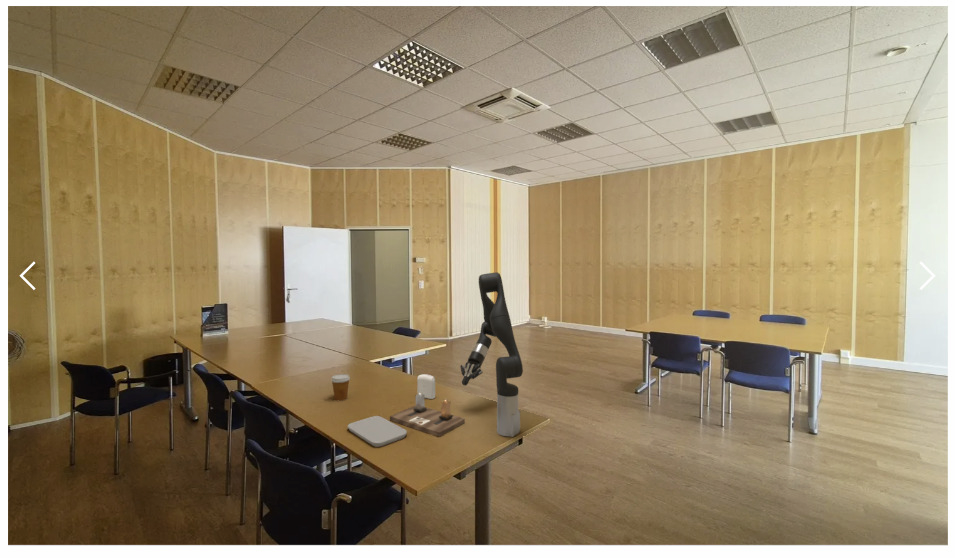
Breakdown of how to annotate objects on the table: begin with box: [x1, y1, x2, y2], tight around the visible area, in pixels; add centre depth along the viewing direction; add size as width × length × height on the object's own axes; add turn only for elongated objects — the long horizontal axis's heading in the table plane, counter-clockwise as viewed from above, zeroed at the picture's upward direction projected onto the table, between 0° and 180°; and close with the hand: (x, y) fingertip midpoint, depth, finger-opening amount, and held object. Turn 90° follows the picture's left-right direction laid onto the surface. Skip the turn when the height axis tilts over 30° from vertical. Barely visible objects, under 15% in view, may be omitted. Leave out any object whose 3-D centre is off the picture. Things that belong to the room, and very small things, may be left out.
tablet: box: [347, 415, 408, 448], centre depth 176 cm, size 16×26×2 cm, turn 45°
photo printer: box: [416, 373, 436, 400], centre depth 219 cm, size 10×4×12 cm, turn 64°
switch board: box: [389, 404, 466, 438], centre depth 187 cm, size 30×18×2 cm, turn 55°
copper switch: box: [439, 398, 453, 420], centre depth 186 cm, size 4×4×8 cm
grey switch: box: [414, 392, 428, 412], centre depth 195 cm, size 4×4×8 cm
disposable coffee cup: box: [330, 373, 351, 401], centre depth 217 cm, size 10×10×12 cm
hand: (463, 384), depth 197 cm, fingers closed
